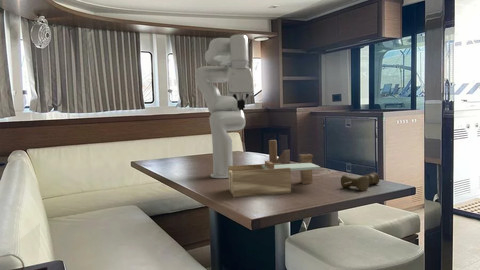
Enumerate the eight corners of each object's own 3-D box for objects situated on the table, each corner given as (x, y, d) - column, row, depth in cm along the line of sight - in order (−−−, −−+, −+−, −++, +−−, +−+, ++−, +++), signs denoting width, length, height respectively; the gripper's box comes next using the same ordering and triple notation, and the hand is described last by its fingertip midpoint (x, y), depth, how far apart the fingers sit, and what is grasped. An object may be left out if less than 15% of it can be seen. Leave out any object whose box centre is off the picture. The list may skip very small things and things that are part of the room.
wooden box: (228, 189, 150) (228, 166, 149) (281, 185, 153) (280, 162, 153) (233, 197, 136) (232, 171, 136) (291, 193, 140) (290, 168, 139)
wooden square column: (299, 181, 160) (298, 154, 159) (310, 181, 161) (309, 153, 160) (302, 184, 155) (302, 155, 155) (313, 183, 156) (313, 155, 155)
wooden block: (285, 182, 159) (284, 141, 158) (267, 179, 167) (266, 140, 166) (291, 181, 162) (289, 140, 160) (273, 178, 170) (272, 139, 169)
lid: (262, 167, 150) (261, 160, 150) (310, 164, 153) (310, 157, 153) (268, 172, 139) (267, 164, 139) (320, 168, 142) (320, 161, 142)
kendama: (385, 187, 147) (354, 193, 135) (364, 184, 155) (333, 190, 143) (385, 172, 147) (354, 177, 135) (364, 170, 154) (333, 175, 143)
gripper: (222, 64, 148) (224, 110, 149) (259, 64, 150) (260, 109, 151) (220, 67, 155) (222, 110, 156) (255, 66, 157) (257, 109, 159)
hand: (241, 110), depth 154 cm, fingers closed
